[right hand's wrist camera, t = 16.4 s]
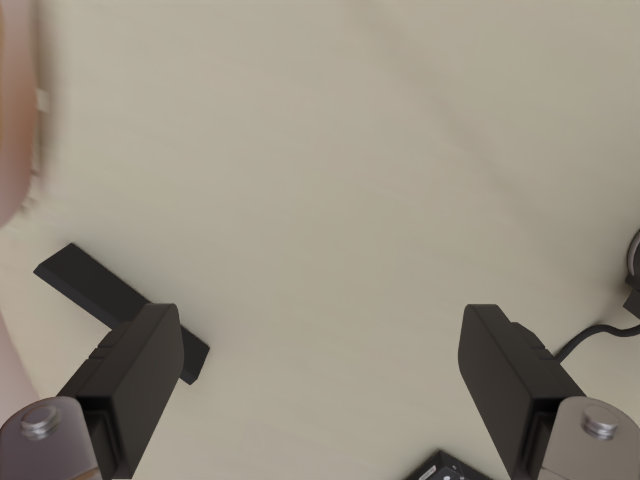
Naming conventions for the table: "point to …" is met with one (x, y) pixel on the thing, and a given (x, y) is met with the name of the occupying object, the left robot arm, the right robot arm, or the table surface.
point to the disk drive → (446, 470)
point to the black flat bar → (109, 299)
